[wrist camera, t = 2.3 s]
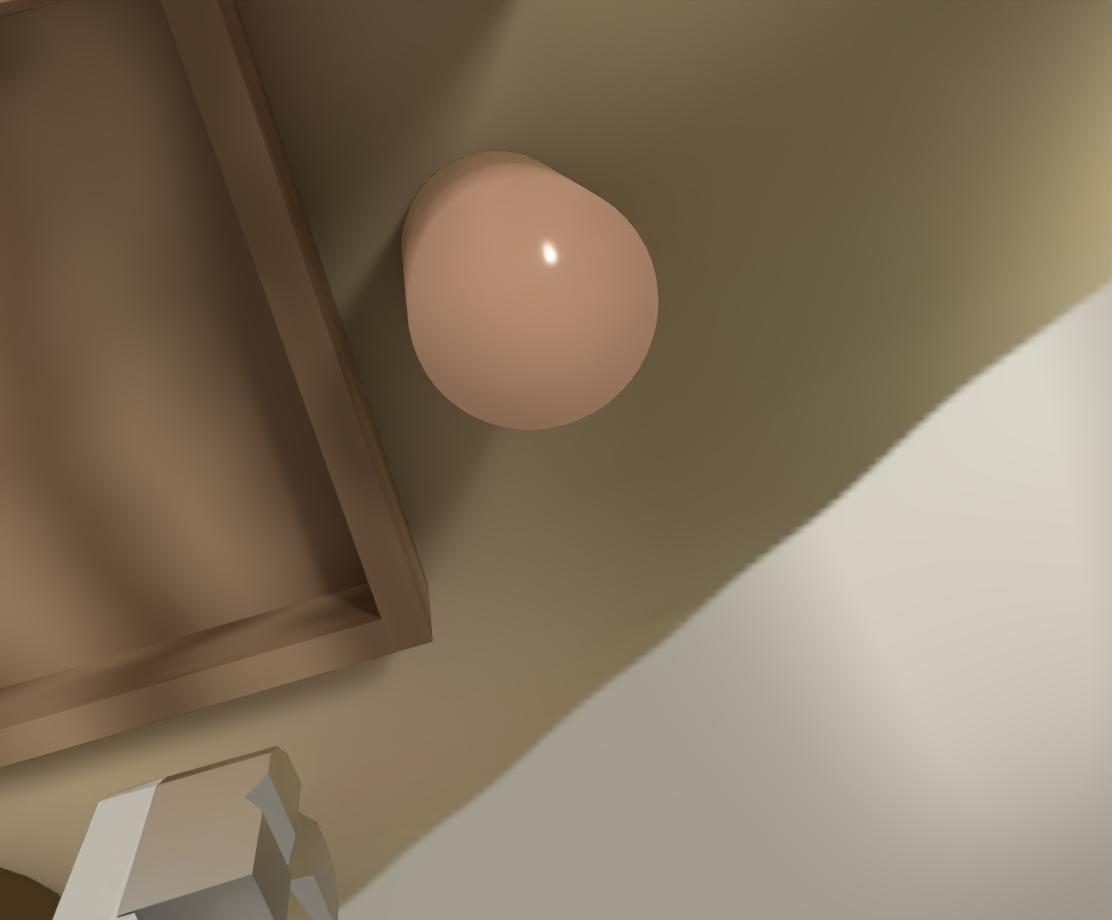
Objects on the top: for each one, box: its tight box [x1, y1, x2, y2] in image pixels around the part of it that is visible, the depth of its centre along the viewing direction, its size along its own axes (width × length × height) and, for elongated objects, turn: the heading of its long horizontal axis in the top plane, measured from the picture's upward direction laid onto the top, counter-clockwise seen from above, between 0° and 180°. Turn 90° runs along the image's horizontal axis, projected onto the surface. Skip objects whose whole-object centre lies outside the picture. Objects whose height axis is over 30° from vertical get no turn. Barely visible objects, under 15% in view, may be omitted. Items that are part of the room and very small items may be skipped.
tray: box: [0, 0, 433, 768], centre depth 27 cm, size 16×20×4 cm
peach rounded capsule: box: [401, 151, 658, 430], centre depth 26 cm, size 6×6×8 cm
